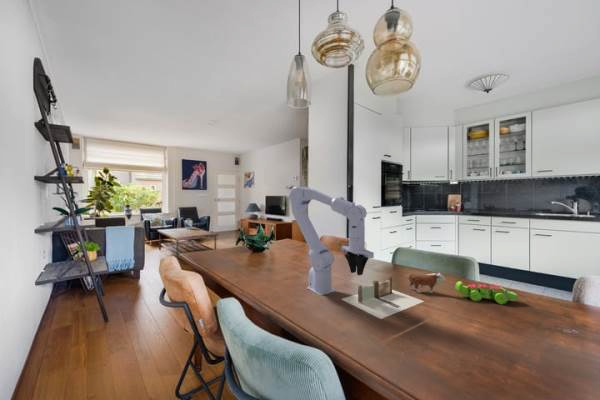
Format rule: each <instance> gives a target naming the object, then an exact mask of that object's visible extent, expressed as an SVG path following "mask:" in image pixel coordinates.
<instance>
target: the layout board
mask: <svg viewBox="0 0 600 400" xmlns="http://www.w3.org/2000/svg"><path fill="white" fill-rule="evenodd" d="M341 301H344V302H345V303H347V304H350V305H351V306H353V307H354V308H355V307H356V308H358V309H360V310H362V311H364V312H365V313H367V314H369V315H371V316H374V317H375V318H377V319H380V320H382V319H384V318H388V317H390V316H393V315H394V314H397V313H399V312H401V311H404V310H407V309H409V308H411V307H414V306H417V305H419V304H421V303H422V304H423V303H424V302H425V300H422V299H419V298H416V297H413V296H411V295H408V294H406V293H402V292H399V291H397V290H394V289H392V293H387V294H384V295H381V296H379V298H372V299H369V300H366V301H363V302H358V293H357V294H354V295H351V296H346V297H344V298H341Z"/></svg>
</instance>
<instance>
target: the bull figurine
mask: <svg viewBox="0 0 600 400" xmlns="http://www.w3.org/2000/svg"><path fill="white" fill-rule="evenodd" d="M408 279H409V287H410V290H412V291H415V290H416V292H417V293H419V294H420V293H422V292H421V290H420V289H419V285H420V287H421V288H423V287H426V286H427V287H429V293H430V294H433V293H434V292H435V291H434V287H436V286H437V285H438V284H439V283H441V282H443V283H444V282H446V281H447V279H446V278H445V277H444V275H443V274H441V272H438V273H435V272H433V273H427V274H422V273H421V274H418V273H411V274H409V276H408Z"/></svg>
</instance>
